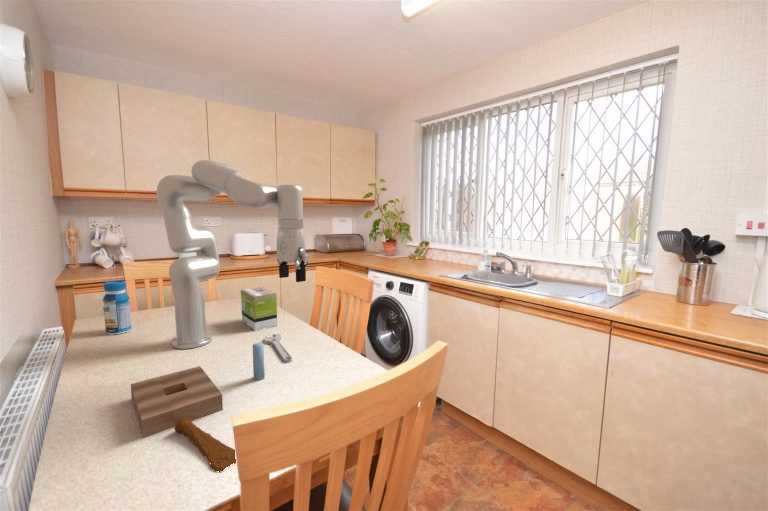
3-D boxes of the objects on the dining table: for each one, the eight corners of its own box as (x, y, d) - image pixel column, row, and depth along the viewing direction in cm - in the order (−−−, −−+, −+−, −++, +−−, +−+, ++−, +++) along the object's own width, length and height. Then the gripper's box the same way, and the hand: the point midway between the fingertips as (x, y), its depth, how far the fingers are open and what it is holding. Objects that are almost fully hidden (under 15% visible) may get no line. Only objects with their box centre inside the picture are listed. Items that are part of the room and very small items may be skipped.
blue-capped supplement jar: (131, 332, 133) (127, 282, 131) (104, 336, 129) (99, 285, 126) (132, 326, 140) (128, 279, 138) (106, 330, 136) (102, 281, 133)
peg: (252, 377, 99) (250, 344, 98) (262, 374, 101) (261, 342, 100) (256, 381, 97) (254, 347, 95) (266, 378, 99) (265, 345, 97)
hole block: (131, 398, 87) (130, 384, 86) (200, 379, 97) (199, 365, 97) (143, 437, 72) (141, 420, 72) (222, 409, 83) (222, 394, 82)
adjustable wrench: (293, 363, 110) (293, 357, 110) (272, 367, 107) (272, 361, 107) (280, 337, 132) (280, 332, 132) (262, 339, 129) (262, 335, 129)
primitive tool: (245, 458, 67) (244, 442, 67) (219, 477, 62) (218, 459, 62) (190, 426, 77) (189, 412, 76) (164, 440, 72) (163, 425, 72)
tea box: (241, 322, 148) (239, 289, 146) (263, 317, 155) (262, 286, 153) (254, 331, 137) (253, 295, 135) (278, 326, 144) (277, 292, 142)
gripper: (265, 224, 109) (267, 277, 111) (295, 226, 97) (297, 285, 99) (286, 224, 114) (288, 274, 116) (317, 225, 102) (318, 281, 104)
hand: (292, 279), depth 107 cm, fingers open, 9 cm apart
